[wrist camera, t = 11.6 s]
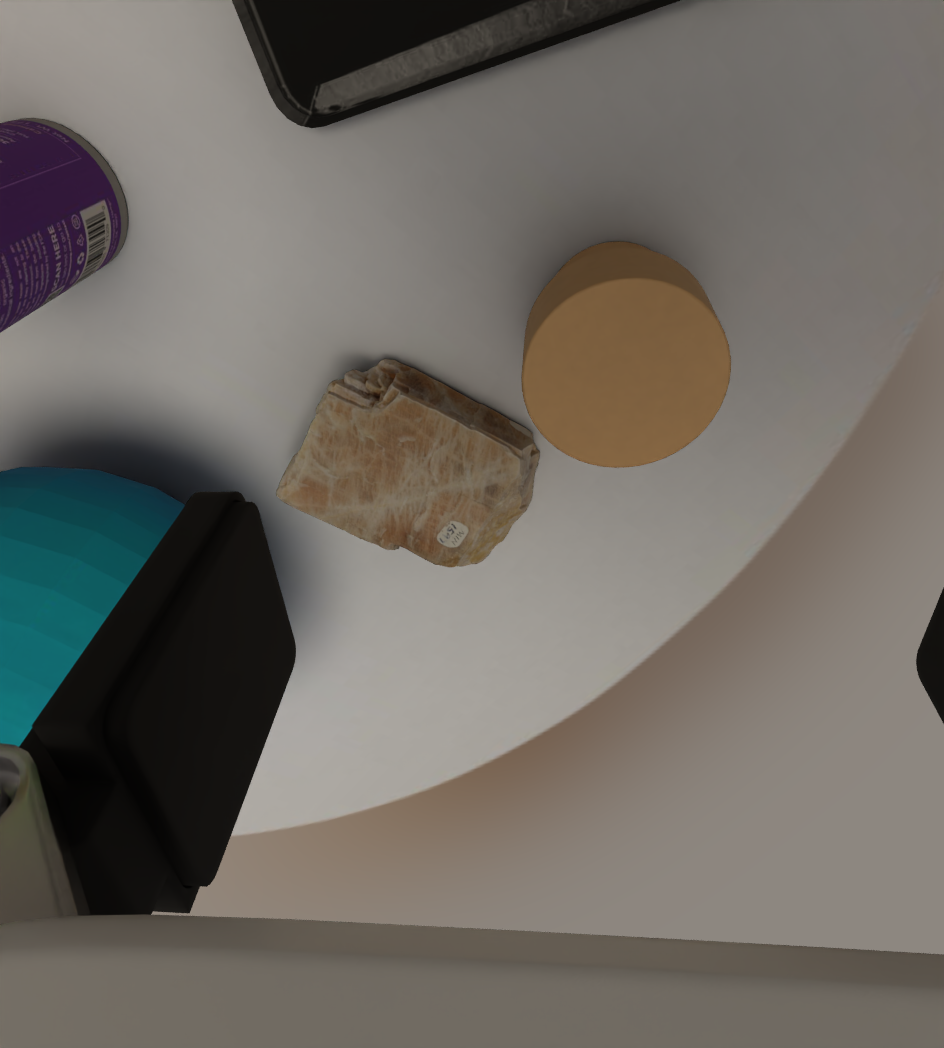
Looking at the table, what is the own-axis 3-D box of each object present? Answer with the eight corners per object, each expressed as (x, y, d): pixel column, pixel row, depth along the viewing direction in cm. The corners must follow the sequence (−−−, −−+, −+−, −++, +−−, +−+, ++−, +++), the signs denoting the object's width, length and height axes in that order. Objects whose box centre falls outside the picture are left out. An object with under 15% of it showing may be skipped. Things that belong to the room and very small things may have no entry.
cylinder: (658, 185, 22) (683, 235, 18) (723, 340, 25) (760, 418, 20) (496, 277, 24) (484, 342, 20) (573, 411, 27) (576, 496, 22)
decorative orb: (201, 706, 39) (43, 1032, 27) (-78, 533, 33) (-435, 845, 21) (388, 561, 32) (289, 913, 20) (75, 312, 26) (-327, 590, 14)
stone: (569, 450, 28) (570, 486, 26) (484, 561, 31) (479, 601, 29) (356, 330, 26) (339, 359, 24) (291, 463, 29) (271, 498, 27)
